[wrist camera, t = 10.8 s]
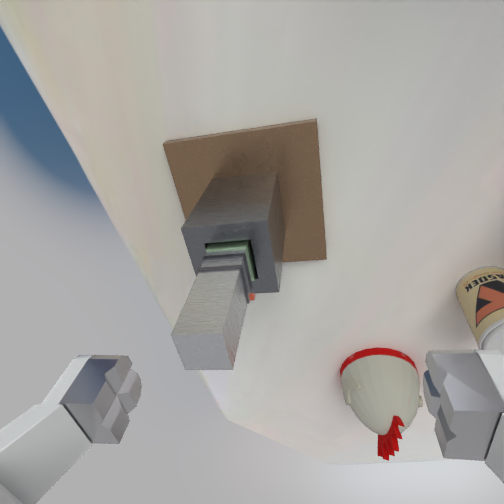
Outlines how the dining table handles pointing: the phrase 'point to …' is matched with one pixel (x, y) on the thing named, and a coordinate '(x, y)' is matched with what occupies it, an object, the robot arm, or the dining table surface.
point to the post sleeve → (252, 195)
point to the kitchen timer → (382, 393)
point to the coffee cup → (484, 305)
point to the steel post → (216, 307)
